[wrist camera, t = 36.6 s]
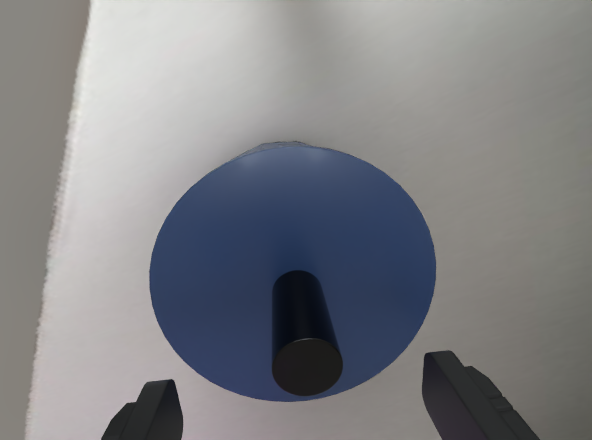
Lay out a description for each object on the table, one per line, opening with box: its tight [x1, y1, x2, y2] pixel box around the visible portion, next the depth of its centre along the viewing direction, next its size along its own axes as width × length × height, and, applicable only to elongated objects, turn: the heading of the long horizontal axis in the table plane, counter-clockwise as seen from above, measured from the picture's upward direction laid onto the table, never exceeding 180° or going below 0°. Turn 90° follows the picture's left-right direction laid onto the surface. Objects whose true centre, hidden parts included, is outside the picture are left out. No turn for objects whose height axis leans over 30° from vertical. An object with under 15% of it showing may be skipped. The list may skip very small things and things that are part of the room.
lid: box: [149, 146, 436, 402], centre depth 13 cm, size 14×14×6 cm
